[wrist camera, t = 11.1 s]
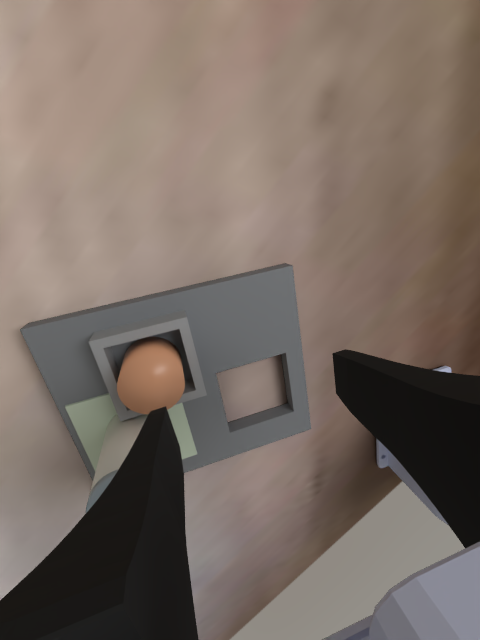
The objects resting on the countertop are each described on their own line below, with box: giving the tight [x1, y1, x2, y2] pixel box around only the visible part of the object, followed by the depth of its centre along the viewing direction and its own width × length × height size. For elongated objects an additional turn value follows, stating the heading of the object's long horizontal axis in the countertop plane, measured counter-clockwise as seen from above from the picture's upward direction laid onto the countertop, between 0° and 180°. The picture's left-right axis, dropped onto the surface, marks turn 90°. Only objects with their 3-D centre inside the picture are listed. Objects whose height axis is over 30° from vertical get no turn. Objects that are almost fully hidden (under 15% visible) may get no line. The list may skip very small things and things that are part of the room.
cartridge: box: [86, 414, 148, 513], centre depth 18 cm, size 4×4×6 cm
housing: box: [20, 263, 311, 480], centre depth 21 cm, size 14×17×3 cm
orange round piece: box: [117, 337, 185, 414], centre depth 18 cm, size 4×4×3 cm
